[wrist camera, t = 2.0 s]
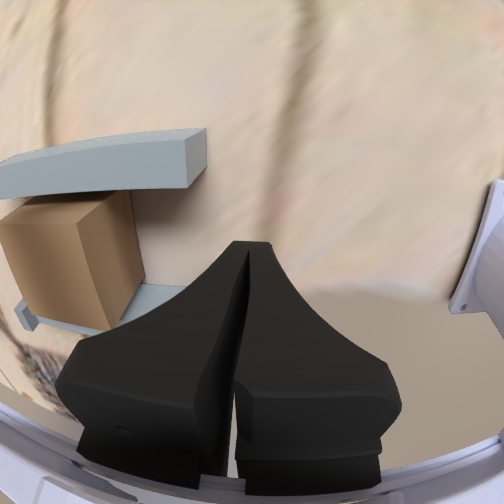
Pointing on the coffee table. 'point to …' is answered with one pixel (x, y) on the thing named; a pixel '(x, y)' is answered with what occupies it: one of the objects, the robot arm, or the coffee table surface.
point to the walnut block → (75, 256)
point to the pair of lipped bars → (107, 188)
